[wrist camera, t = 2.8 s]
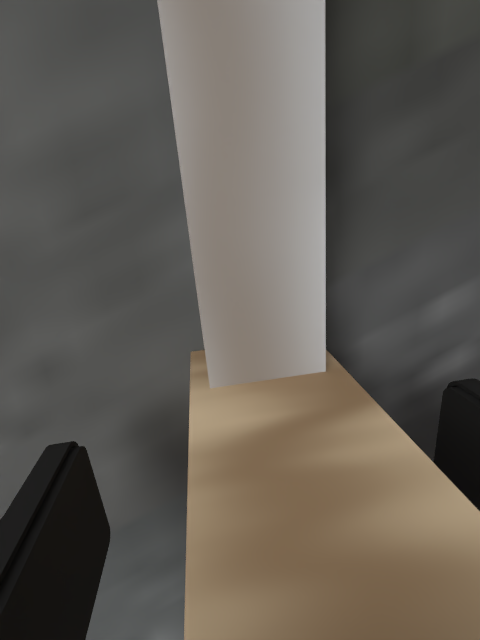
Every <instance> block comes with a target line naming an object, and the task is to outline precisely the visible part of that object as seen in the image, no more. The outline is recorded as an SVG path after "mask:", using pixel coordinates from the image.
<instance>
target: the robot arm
mask: <svg viewBox="0 0 480 640" xmlns="http://www.w3.org/2000/svg"><path fill="white" fill-rule="evenodd" d="M434 464H435V465H436V466H437V467H438V468H439V469H440V470H441V471H442V472H443V473H444V474H445V475H446V476H447V477H448V479H449V480H450V481H451V482H452V483H453V484H454V485H455V486H456V487H457V488H458V489H459V490H460V491H461V492H462V493H463V494H464V495H465V496H466V498H467V499H468V500H469V501H470V502H471V503H472V504H473V505H474V506H475V507H476V508H477V509H478V510H479V511H480V381H479V380H477V379H466V380H459V381H453V382H451V383H449V385H448V387H447V388H446V389H445V390H444V392H443V397H442V405H441V412H440V419H439V427H438V434H437V442H436V449H435V456H434ZM109 542H110V527H109V523H108V520H107V516H106V513H105V510H104V506H103V503H102V500H101V496H100V493H99V490H98V487H97V483H96V480H95V477H94V473H93V470H92V467H91V463H90V460H89V457H88V453H87V450H86V448H85V447H84V446H80V447H79V446H78V444H77V443H76V442H74V441H72V442H66V443H59V444H53V445H49V446H47V447H46V449H45V450H44V452H43V453H42V455H41V456H40V458H39V460H38V461H37V463H36V465H35V466H34V468H33V469H32V471H31V473H30V474H29V476H28V477H27V479H26V481H25V482H24V484H23V485H22V487H21V489H20V490H19V492H18V494H17V495H16V497H15V498H14V500H13V502H12V503H11V505H10V506H9V508H8V510H7V511H6V513H5V515H4V516H3V517H2V518H1V520H0V640H85V638H86V635H87V631H88V627H89V623H90V619H91V615H92V611H93V607H94V603H95V599H96V595H97V591H98V587H99V583H100V579H101V575H102V571H103V567H104V563H105V559H106V555H107V551H108V547H109Z"/></svg>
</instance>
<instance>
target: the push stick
mask: <svg viewBox="0 0 480 640" xmlns="http://www.w3.org/2000/svg"><path fill="white" fill-rule="evenodd" d="M157 2H158V9H159V16H160V24H161V31H162V38H163V46H164V53H165V60H166V68H167V75H168V83H169V90H170V97H171V105H172V112H173V119H174V127H175V134H176V142H177V149H178V156H179V164H180V171H181V178H182V186H183V193H184V200H185V208H186V215H187V223H188V230H189V237H190V245H191V252H192V259H193V267H194V274H195V282H196V289H197V296H198V304H199V311H200V318H201V326H202V333H203V340H204V348H205V350H201V351H193V352H191V365H190V408H189V452H188V495H187V538H186V581H185V625H184V640H480V511H479V510H478V509H477V508H476V507H475V506H474V505H473V504H472V503H471V502H470V501H469V500H468V499H467V498H466V496H465V495H464V494H463V493H462V492H461V491H460V490H459V489H458V488H457V487H456V486H455V485H454V484H453V483H452V482H451V481H450V480H449V479H448V477H447V476H446V475H445V474H444V473H443V472H442V471H441V470H440V469H439V468H438V467H437V466H436V465H435V464H434V463H433V462H432V461H431V460H430V458H429V457H428V456H427V455H426V454H425V453H424V452H423V451H422V450H421V449H420V448H419V447H418V446H417V445H416V444H415V443H414V442H413V441H412V440H411V438H410V437H409V436H408V435H407V434H406V433H405V432H404V431H403V430H402V429H401V428H400V427H399V426H398V425H397V424H396V423H395V422H394V421H393V419H392V418H391V417H390V416H389V415H388V414H387V413H386V412H385V411H384V410H383V409H382V408H381V407H380V406H379V405H378V404H377V403H376V402H375V400H374V399H373V398H372V397H371V396H370V395H369V394H368V393H367V392H366V391H365V390H364V389H363V388H362V387H361V386H360V385H359V384H358V383H357V381H356V380H355V379H354V378H353V377H352V376H351V375H350V374H349V373H348V372H347V371H346V370H345V369H344V368H343V367H342V366H341V365H340V364H339V362H338V361H337V360H336V359H335V358H334V357H333V356H332V355H331V354H330V353H329V352H328V351H327V350H326V177H325V0H157Z"/></svg>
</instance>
